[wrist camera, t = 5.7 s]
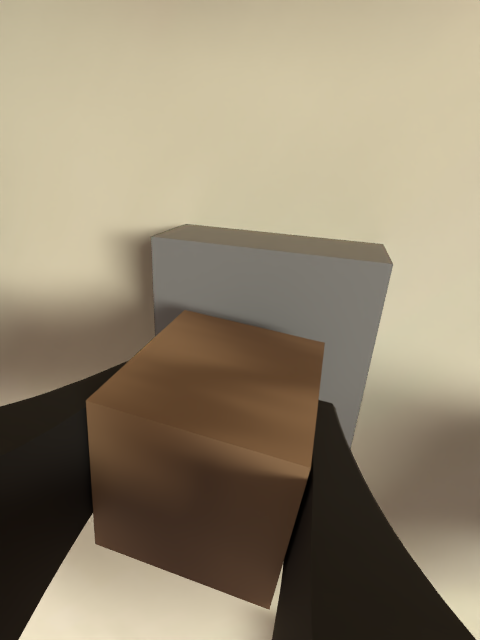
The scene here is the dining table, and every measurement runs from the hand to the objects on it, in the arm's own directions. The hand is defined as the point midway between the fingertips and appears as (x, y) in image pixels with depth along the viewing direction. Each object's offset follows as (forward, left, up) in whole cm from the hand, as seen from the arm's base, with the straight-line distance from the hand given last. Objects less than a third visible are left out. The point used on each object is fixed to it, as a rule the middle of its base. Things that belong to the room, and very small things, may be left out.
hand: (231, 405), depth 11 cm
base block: (0, 0, -7) cm, 7 cm away
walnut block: (0, 0, -2) cm, 2 cm away
